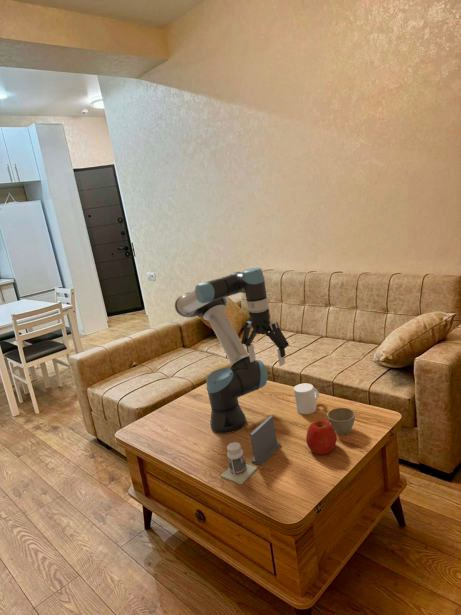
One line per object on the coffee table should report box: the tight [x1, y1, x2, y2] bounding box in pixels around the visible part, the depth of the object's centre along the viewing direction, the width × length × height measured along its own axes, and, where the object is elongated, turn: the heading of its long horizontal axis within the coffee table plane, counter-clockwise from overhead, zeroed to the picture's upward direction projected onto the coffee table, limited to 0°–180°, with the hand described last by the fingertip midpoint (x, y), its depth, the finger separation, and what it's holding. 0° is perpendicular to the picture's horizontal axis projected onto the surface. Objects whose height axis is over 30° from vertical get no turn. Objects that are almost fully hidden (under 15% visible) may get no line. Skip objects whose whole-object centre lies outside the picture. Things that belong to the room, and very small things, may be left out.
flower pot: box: [327, 407, 356, 436], centre depth 156 cm, size 10×10×7 cm
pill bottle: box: [226, 441, 247, 476], centre depth 143 cm, size 6×6×10 cm
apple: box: [305, 419, 338, 456], centre depth 148 cm, size 11×11×11 cm
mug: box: [293, 382, 320, 415], centre depth 177 cm, size 8×10×12 cm
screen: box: [249, 415, 281, 466], centre depth 150 cm, size 4×13×12 cm, turn 141°
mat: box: [220, 463, 258, 485], centre depth 144 cm, size 9×9×1 cm
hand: (267, 362), depth 159 cm, fingers open, 13 cm apart
